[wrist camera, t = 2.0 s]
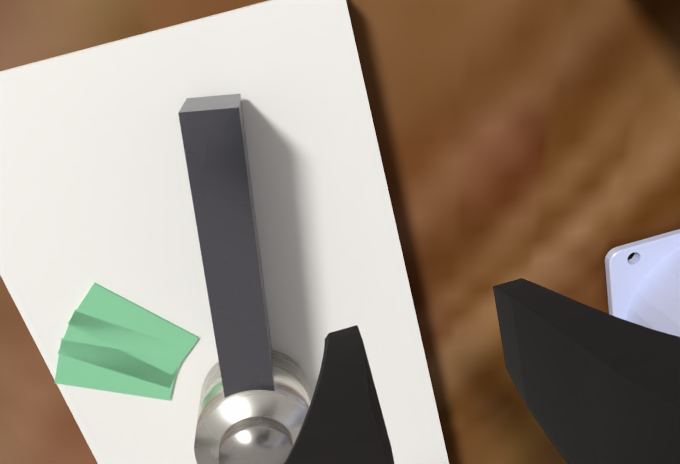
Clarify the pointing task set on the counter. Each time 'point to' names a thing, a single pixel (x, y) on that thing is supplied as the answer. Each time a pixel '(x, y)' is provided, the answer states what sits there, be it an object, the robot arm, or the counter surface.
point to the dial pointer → (236, 300)
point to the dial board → (181, 230)
